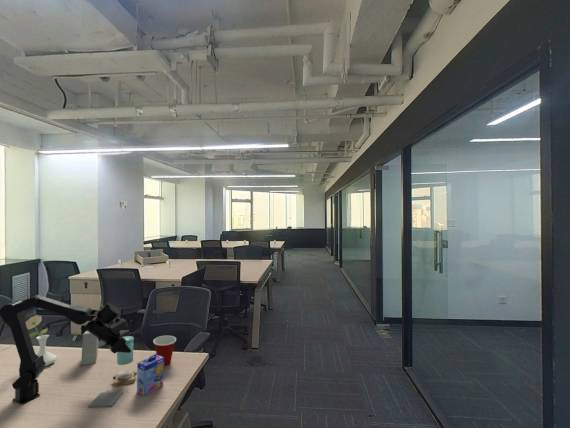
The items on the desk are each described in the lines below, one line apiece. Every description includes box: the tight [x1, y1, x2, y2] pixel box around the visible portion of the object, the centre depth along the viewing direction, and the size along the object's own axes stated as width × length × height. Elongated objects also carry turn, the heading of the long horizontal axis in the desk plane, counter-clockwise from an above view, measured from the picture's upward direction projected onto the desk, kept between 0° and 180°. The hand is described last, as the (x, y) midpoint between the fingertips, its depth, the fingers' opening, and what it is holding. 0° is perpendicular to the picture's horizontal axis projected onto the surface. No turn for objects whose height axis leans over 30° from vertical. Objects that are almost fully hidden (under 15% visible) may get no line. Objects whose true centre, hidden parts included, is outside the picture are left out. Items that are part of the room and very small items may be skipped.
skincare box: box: [80, 331, 99, 366], centre depth 157 cm, size 8×7×16 cm
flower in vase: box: [25, 314, 58, 367], centre depth 153 cm, size 13×11×25 cm
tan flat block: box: [112, 369, 137, 387], centre depth 138 cm, size 9×8×3 cm
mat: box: [87, 391, 124, 408], centre depth 123 cm, size 9×9×1 cm
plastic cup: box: [152, 335, 177, 367], centre depth 154 cm, size 11×11×12 cm
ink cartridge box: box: [136, 353, 165, 396], centre depth 132 cm, size 10×6×14 cm, turn 152°
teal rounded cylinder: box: [116, 335, 135, 366], centre depth 139 cm, size 7×7×10 cm
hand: (128, 349), depth 139 cm, fingers closed on teal rounded cylinder, 6 cm apart
